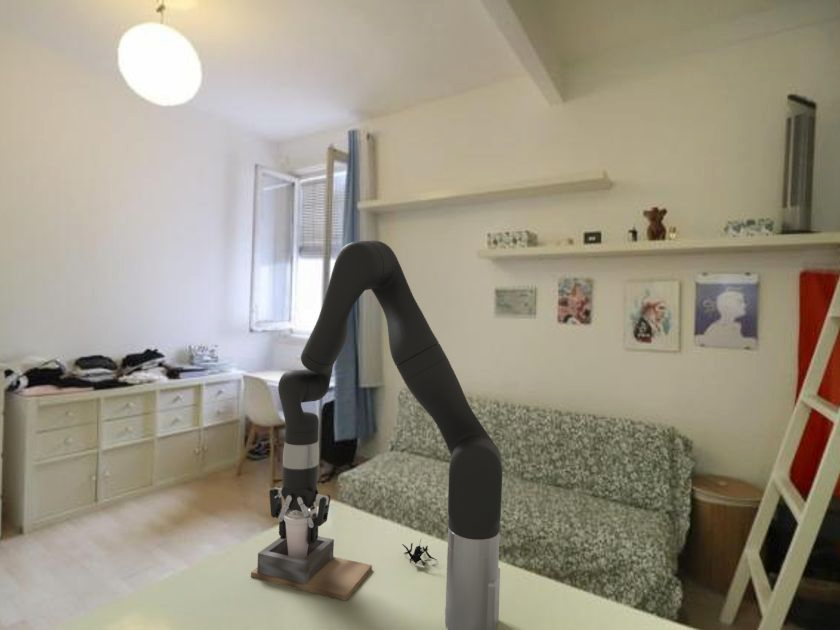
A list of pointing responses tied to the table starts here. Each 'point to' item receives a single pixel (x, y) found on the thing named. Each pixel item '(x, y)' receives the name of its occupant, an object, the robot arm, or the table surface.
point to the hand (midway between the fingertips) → (297, 540)
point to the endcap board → (311, 569)
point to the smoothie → (296, 533)
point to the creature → (417, 553)
